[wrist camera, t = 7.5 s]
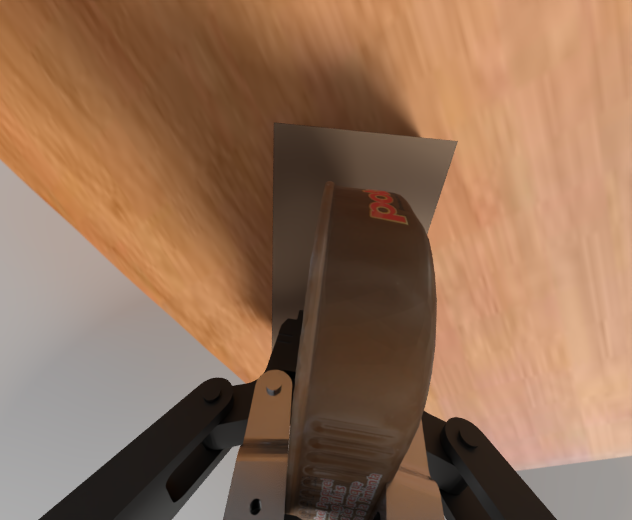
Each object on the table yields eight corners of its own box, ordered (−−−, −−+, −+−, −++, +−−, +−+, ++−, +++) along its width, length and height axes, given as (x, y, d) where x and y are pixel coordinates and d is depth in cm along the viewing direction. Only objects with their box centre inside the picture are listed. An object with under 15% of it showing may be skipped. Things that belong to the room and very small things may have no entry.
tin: (331, 166, 10) (251, 236, 3) (406, 175, 10) (550, 282, 2) (305, 388, 17) (263, 577, 10) (348, 397, 17) (339, 601, 9)
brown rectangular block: (294, 127, 15) (273, 122, 10) (423, 140, 14) (458, 141, 10) (285, 336, 23) (271, 383, 19) (367, 348, 23) (372, 399, 18)
